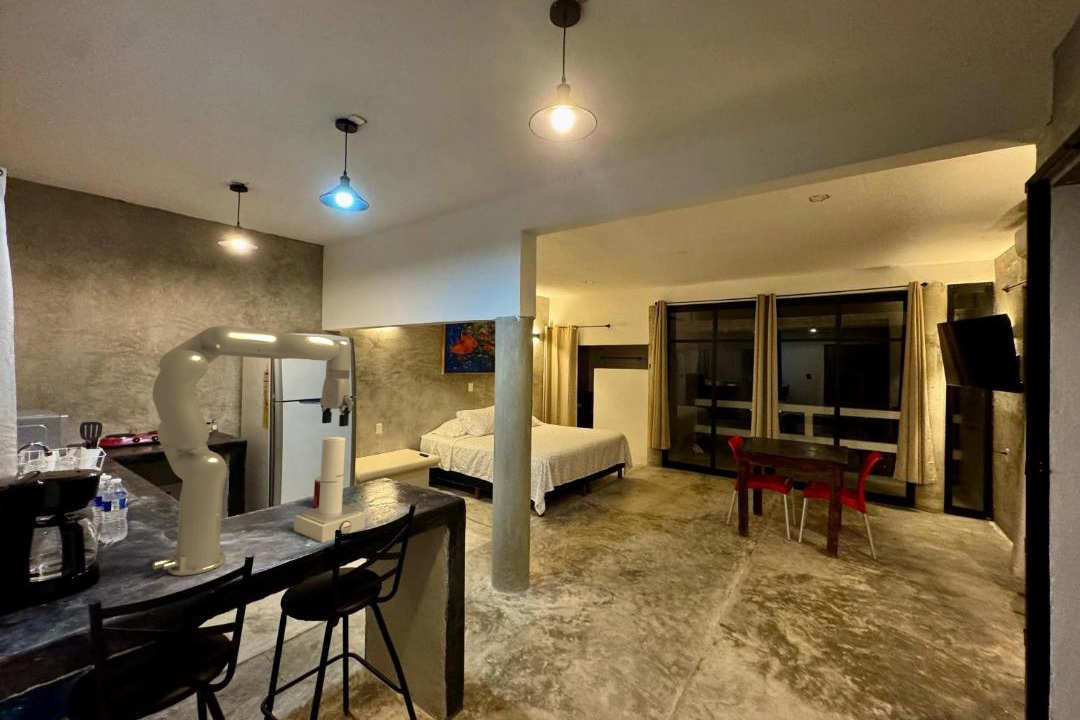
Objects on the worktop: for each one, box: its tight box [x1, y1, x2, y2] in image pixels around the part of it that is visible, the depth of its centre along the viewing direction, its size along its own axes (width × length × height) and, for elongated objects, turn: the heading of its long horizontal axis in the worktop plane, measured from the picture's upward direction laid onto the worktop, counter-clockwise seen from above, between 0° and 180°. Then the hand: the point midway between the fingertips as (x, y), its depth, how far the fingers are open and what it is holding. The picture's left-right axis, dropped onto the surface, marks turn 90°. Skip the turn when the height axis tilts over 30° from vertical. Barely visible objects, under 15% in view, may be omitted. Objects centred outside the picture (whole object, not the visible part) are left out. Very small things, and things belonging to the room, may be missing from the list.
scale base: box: [293, 511, 367, 543], centre depth 150 cm, size 16×17×5 cm
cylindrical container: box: [319, 436, 346, 515], centre depth 150 cm, size 7×7×25 cm
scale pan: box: [301, 503, 360, 524], centre depth 150 cm, size 13×13×1 cm
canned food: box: [313, 476, 321, 508], centre depth 173 cm, size 8×8×11 cm
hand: (334, 424), depth 150 cm, fingers open, 9 cm apart
